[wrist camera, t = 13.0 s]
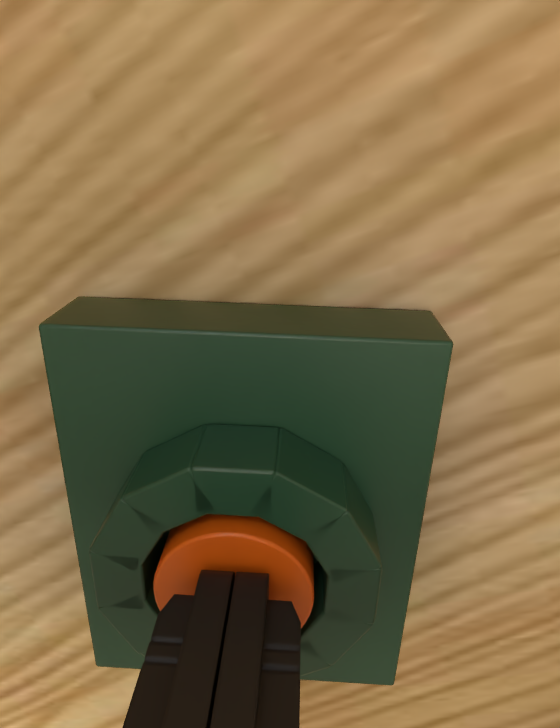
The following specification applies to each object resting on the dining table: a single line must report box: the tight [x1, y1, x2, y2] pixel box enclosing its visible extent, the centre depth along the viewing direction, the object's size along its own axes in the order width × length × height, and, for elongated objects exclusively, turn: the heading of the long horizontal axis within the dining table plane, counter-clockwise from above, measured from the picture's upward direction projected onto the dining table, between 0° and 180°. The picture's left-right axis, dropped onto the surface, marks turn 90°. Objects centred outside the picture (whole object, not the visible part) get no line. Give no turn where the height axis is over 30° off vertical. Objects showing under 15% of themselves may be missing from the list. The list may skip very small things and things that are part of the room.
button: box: [153, 514, 314, 628], centre depth 12 cm, size 4×4×2 cm
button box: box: [39, 297, 453, 685], centre depth 14 cm, size 11×9×4 cm
